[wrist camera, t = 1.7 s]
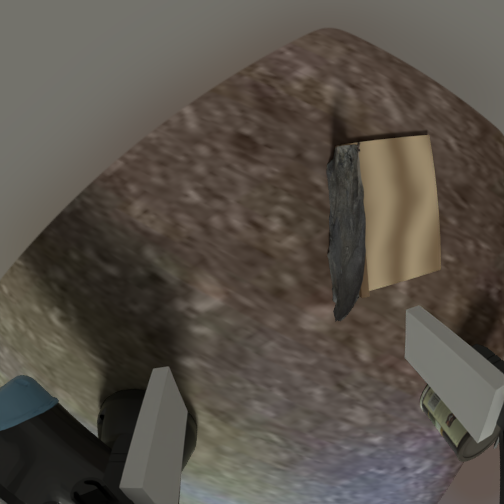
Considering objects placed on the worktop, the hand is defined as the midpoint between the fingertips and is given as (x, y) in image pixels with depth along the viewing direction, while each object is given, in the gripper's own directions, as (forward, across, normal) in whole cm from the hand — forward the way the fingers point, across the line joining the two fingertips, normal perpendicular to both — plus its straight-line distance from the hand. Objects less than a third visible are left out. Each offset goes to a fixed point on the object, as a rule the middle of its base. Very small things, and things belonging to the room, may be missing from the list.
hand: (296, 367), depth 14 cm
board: (+24, +18, 0) cm, 30 cm away
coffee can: (+24, +28, -33) cm, 49 cm away
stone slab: (+24, +9, 0) cm, 26 cm away
